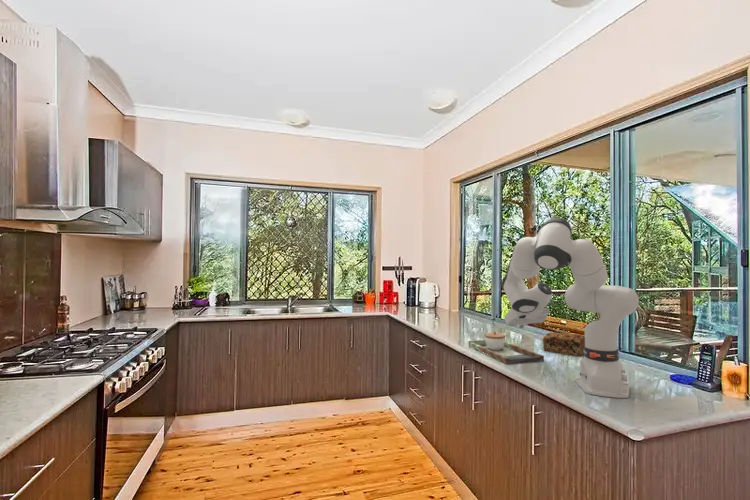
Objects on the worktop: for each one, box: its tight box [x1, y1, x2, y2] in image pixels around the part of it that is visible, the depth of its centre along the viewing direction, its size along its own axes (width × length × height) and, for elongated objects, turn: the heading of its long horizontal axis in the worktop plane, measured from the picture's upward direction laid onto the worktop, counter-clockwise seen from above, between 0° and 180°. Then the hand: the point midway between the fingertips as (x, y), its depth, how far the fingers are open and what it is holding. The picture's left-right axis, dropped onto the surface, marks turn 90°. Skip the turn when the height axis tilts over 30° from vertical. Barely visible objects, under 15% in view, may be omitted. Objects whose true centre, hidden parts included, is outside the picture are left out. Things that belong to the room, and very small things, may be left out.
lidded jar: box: [484, 331, 506, 351], centre depth 213 cm, size 11×11×9 cm
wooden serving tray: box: [468, 339, 545, 365], centre depth 204 cm, size 38×20×3 cm, turn 14°
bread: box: [542, 332, 585, 357], centre depth 205 cm, size 19×11×10 cm, turn 43°
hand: (519, 326), depth 193 cm, fingers closed
